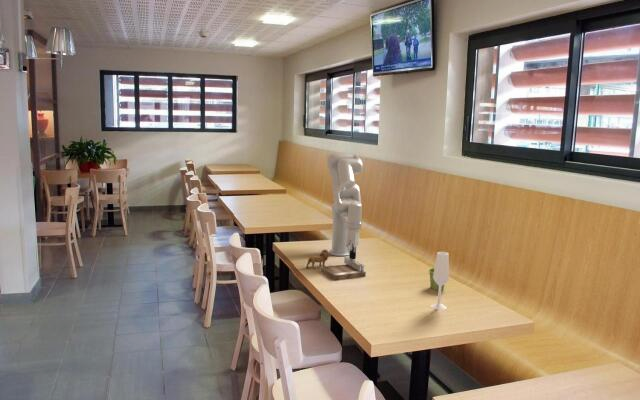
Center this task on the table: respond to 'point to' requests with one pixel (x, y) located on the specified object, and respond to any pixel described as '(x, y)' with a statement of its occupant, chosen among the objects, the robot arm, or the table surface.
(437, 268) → the champagne flute
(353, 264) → the folding leg
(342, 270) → the stool seat
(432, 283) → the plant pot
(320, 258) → the lion figurine
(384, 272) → the table surface
